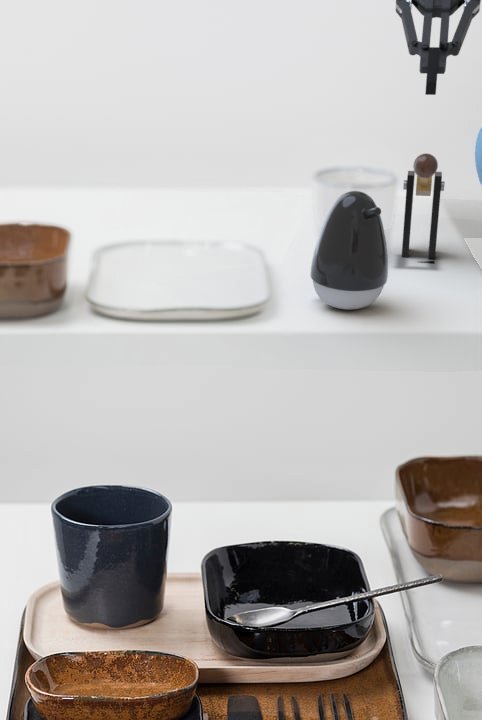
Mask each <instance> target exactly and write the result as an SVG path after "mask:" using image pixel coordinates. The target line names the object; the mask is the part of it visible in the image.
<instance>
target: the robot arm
mask: <svg viewBox="0 0 482 720" xmlns="http://www.w3.org/2000/svg"><path fill="white" fill-rule="evenodd" d="M481 2H482V1H481V0H395V13H396V14H397V15H398V17H399V18H400V19H401V22H402V27H403V32H404V37H405V41H406V46H407V50H408V54H409V55H410V56H416V55H417V56H418V57H419V58H420V59H419V74H426V80H425V81H426V82H425V95H428V96H435V95H437V94H436V93H437V81H438V75H445V73H446V69H447V58H448V57H450V56H453V57H456V56H458V55H459V54H460V52H461V49H462V47H463V44H464V42H465V39H466V37H467V34H468V31H469V29H470V27H471V23H472V20H473V19H474V18H475V17H476V16H477V15H478V14H479V13H480V10H481ZM413 6H414V7H415V8H416V10H417V11H418V12H419V13H420V14H421V15H422V16H423V23H422V35H421V41H420V40H419V39H418V36H417V35H418V34H417V31H416V26H415V22H414V17H413V13H412V9H413V8H412V7H413ZM462 6H463V11H462V14H461V16H460V19H459V21H458V24H457V27H456V29H455V32H454V35H453V36H452V40H451V41H449V32H450V31H449V29H450V17H451V16H452V15H454V13H455V12H457V11H458V10H459V9H460V8H461V7H462ZM435 18H439V19H440V30H439V42H438V44H439V45H438V46H436V47H435V46H431V37H432V25H433V24H432V23H433V19H435ZM474 163H475V169H476V174H477V178H478V180H479V183H480V185H481V187H482V126H481V127H480V129H479V131H478V133H477V136H476V141H475V147H474Z"/></svg>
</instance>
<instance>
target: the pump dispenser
mask: <svg viewBox="0 0 482 720" xmlns="http://www.w3.org/2000/svg"><path fill="white" fill-rule="evenodd" d="M381 214H382V208H380V207H379V206H377V204H376V202H375V201H374V199H373V197H371V196H370V195H369V194H367V193H366V192H363V191H360V190H350V191H347V192H345V193H343V194H341V195H340V196H339V197H337V199H336V200H335V202H334V203H333V205H332V206H331V207H330V209H329V211H328V213H327V215H326V217H325V218H324V219H325V220H324V222H323V223H322V226H321V229H320V231H319V234H318V237H317V239H316V240H317V241H316V244H315V247H314V251H313V255H312V260H311V265H310V278H311V280H312V284H313V288H314V291H315V293H316V295H317V296H318V298H319V299H320V300H321V301H322V302H323V303H325V304H327V305H328V306H330V307H333V308H336V309H340V310H349V311H350V310H359V309H362V308H366V307H368V306H369V305H371V304H373V303H374V302H375V301H376V300H377V299H378V298H379V297H380V295H381V293H382V291H383V290H384V286H385V285H386V284H387V282H388V278H389V257H388V248H387V247H388V245H387V239H386V234H385V229H384V224H383V220H382V216H381Z"/></svg>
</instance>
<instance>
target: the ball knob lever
mask: <svg viewBox="0 0 482 720" xmlns="http://www.w3.org/2000/svg"><path fill="white" fill-rule="evenodd" d="M412 165H413V166H412V169H413V171H414V172H415V176H416V183H415V185H416V186H415V196H416V197H418V196H420V197H431V195H432V182H433V176H435V173H436V172H438V167H439V162H438V160H437V158H436V156H434V155H432V154H431V153H421V154H419V155H418V156H417V157H416V158H415V159H414V160H413V164H412Z"/></svg>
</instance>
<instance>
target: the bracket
mask: <svg viewBox="0 0 482 720" xmlns="http://www.w3.org/2000/svg"><path fill="white" fill-rule="evenodd" d="M415 176H416V173H415V172H414V170H408V171H407V178H406V179H404V180H403V188H402V189H403V190H405V191H406V192H405V204H404V218H403V219H404V220H403V233H402V245H401V246H402V247H401V258H406V259H408V258H409V253H410V243H411V242H410V241H411V229H412V215H413V214H412V213H413V202H414V187H415ZM442 179H443V172H442V171H436V173H435V174H434V179H433V192H432V205H431V217H430V230H429V239H428V254H427V260H424V261H422V260H421V261H418V263H420V264H433V265H435V264H436V263H435V262H436V261H435V260H436V249H437V241H438V240H437V239H438V227H439V214H440V205H441V203H440V202H441V192H444V191H445V183H446V181H444V180H442Z"/></svg>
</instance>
